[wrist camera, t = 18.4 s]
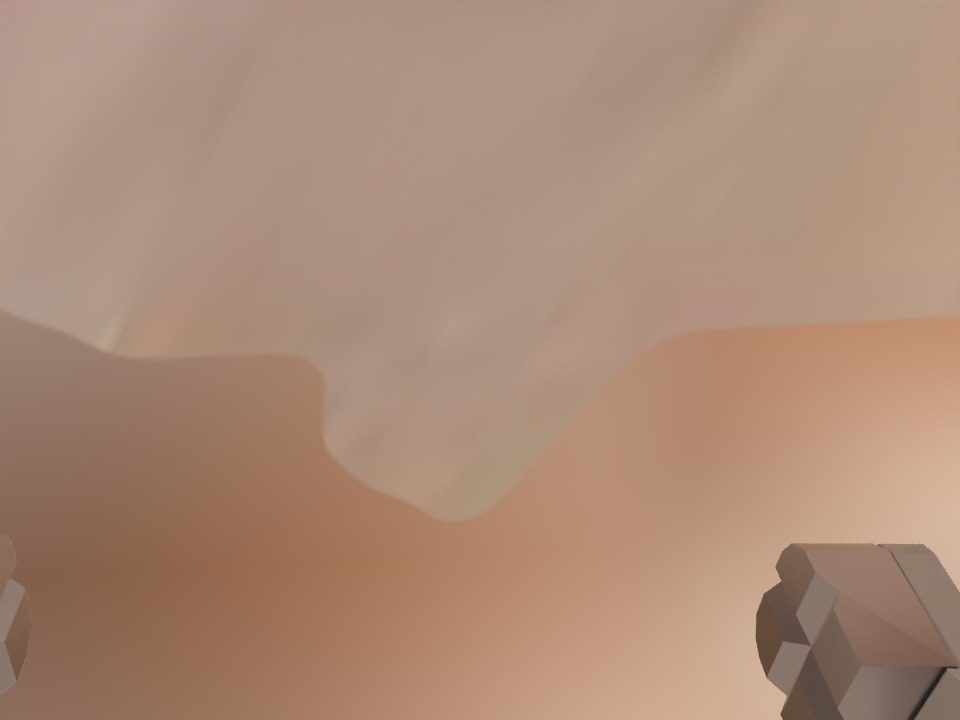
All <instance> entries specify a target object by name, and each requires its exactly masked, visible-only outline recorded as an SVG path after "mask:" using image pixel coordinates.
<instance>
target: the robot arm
mask: <svg viewBox="0 0 960 720" xmlns="http://www.w3.org/2000/svg"><path fill="white" fill-rule="evenodd" d="M16 561H17V558H16V555H15V552H14V549H13V546H12V543H11V540H10V537H8V536H4V535H0V695H1V694H3V693H4V692H5V691H6V690H8V689H9V688H10V687H11V686H12V685H14V684H15V683H16V682H17V680H18V677H19V675H20V672H21V669H22V666H23V664H24V661H25V658H26V655H27V649H28V643H29V637H30V631H31V612H30V603H29V600H28V596H27V592H26V589H25V588H23V587H22V586H21V585H19V584H18V583H17V582H15V581H14V580H12V579H11V578H10V575H11V572H12V570H13V568H14V565H15V563H16ZM776 570H777V572H778V574H779V577H780V579H781V582H780V583H778V584H777V585H776V586H774V587H773V588H771V589H770V590H769V591H767V592H766V593H764V595H763V598H762V600H761V603H760V606H759V609H758V611H757V614H756V643H757V648H758V653H759V658H760V661H761V664H762V666H763V669H764V672H765V675H766V677H767V679H769V680H770V681H771V682H772V683H773V684H774V685H775V686H776V687H778V688H779V689H780V690H781V691H782V692H783V693H785V694H786V695H787V697H786V700H785V703H784V706H783V709H782V712H781V717H782V719H783V720H960V592H959V591H958V589H957V588H956V586H955V584H954V583H953V581H952V580H951V578H950V577H949V575H948V574H947V572H946V571H945V569H944V567H943V566H942V564H941V563H940V561H939V559H938V558H937V556H936V555H935V554H934V552H932V551H931V550H930V549H929V548H927V547H926V546H925V545H923V544H878V545H874V544H790V545H789V546H788V547H787V548H786V549H784V550H783V551H782V553H781V555H780V558H779V560H778V562H777V564H776Z"/></svg>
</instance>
